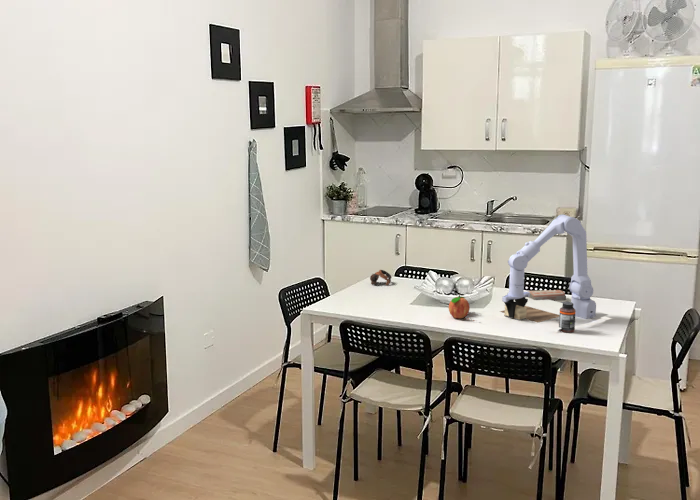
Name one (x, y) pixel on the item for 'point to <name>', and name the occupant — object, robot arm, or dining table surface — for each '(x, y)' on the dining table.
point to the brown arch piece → (382, 274)
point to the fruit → (459, 307)
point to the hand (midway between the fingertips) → (515, 316)
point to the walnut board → (538, 315)
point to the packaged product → (548, 295)
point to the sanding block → (517, 312)
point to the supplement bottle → (567, 318)
